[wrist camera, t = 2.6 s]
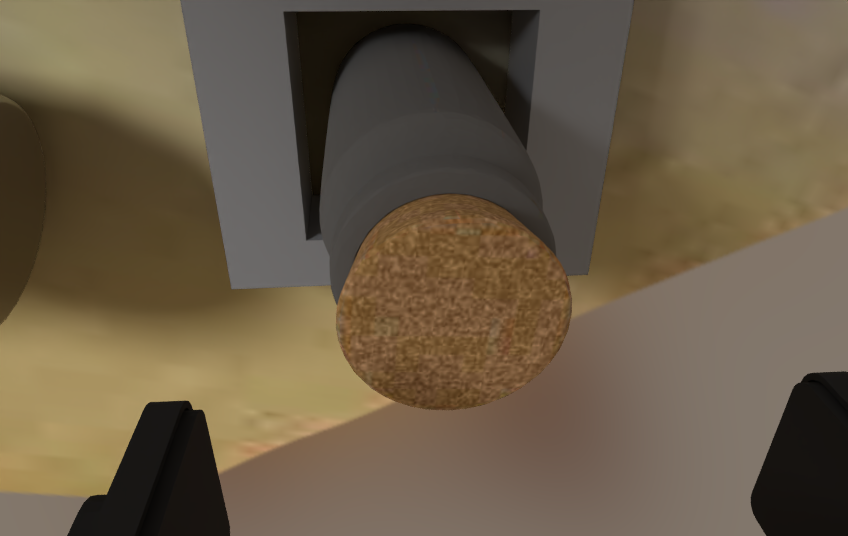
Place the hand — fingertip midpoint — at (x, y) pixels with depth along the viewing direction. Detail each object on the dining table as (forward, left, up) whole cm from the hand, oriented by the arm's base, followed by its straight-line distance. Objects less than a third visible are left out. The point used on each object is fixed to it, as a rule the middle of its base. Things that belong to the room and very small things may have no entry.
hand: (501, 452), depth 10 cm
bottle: (0, 0, -18) cm, 18 cm away
